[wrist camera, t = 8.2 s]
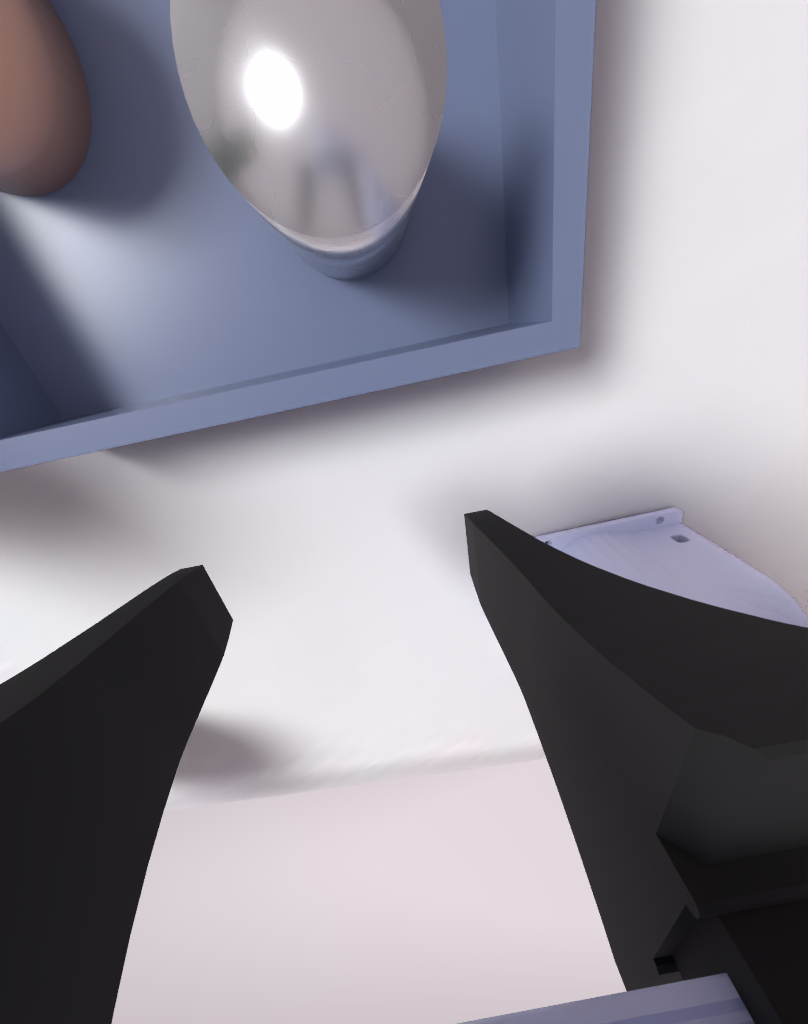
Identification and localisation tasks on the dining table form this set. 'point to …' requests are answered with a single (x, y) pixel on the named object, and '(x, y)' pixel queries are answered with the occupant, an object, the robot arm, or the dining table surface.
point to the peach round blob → (40, 101)
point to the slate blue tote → (286, 246)
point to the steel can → (318, 114)
